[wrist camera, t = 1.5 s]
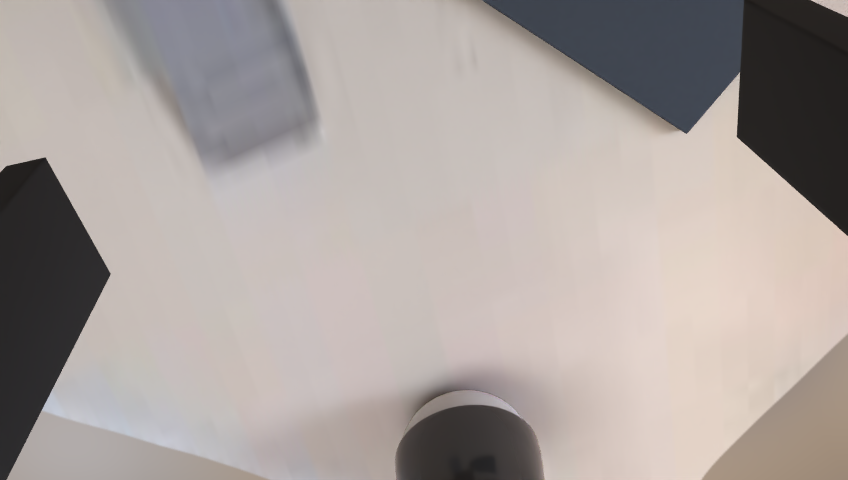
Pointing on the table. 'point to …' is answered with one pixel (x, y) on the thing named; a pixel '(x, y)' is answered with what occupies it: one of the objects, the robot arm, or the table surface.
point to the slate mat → (645, 46)
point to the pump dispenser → (468, 441)
